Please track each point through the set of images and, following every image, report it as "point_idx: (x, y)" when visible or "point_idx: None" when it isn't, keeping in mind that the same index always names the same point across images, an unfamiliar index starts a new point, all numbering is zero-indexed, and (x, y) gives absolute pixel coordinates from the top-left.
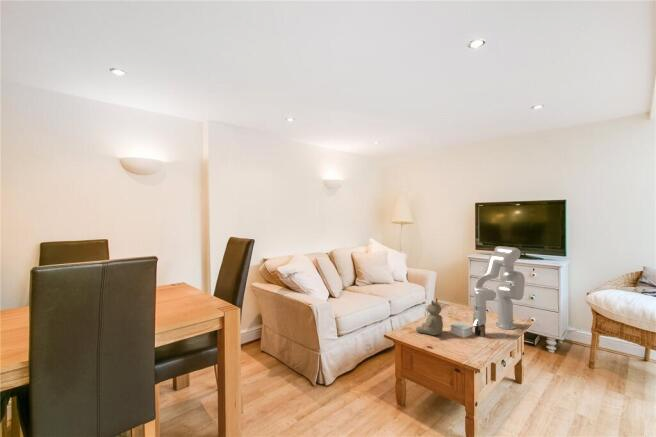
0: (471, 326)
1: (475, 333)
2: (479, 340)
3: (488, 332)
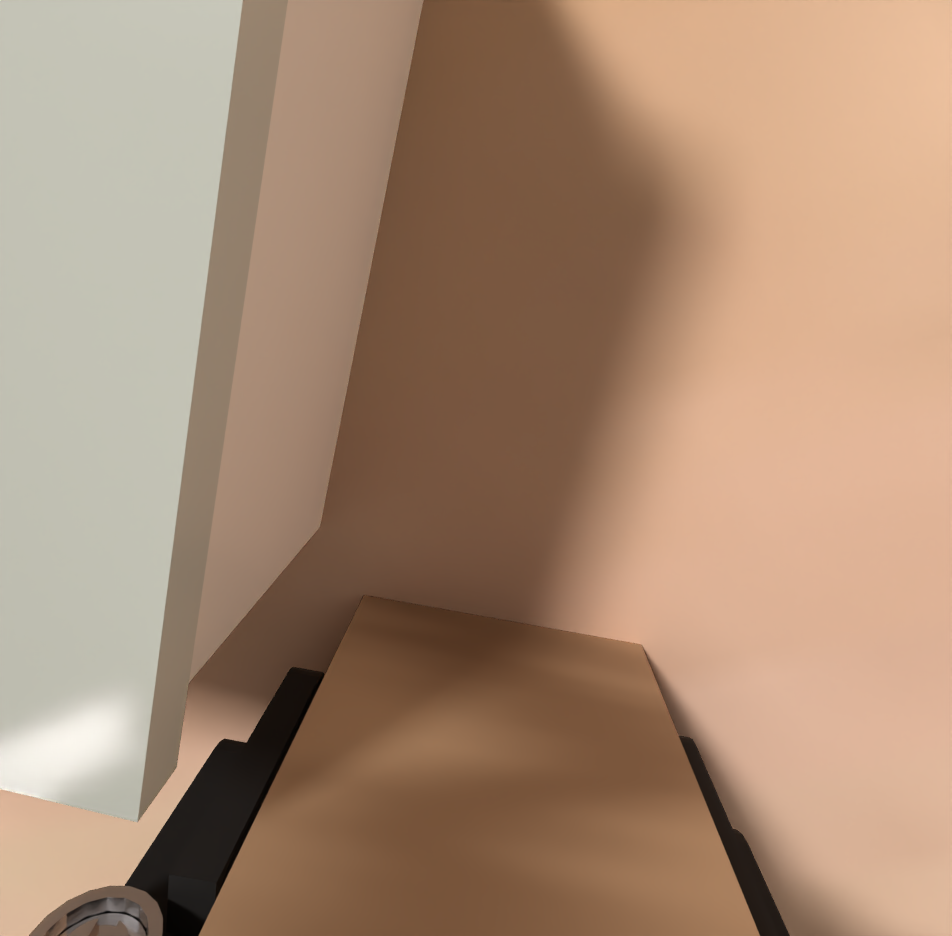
0: (43, 732)
1: (282, 686)
2: (15, 827)
3: (914, 883)
